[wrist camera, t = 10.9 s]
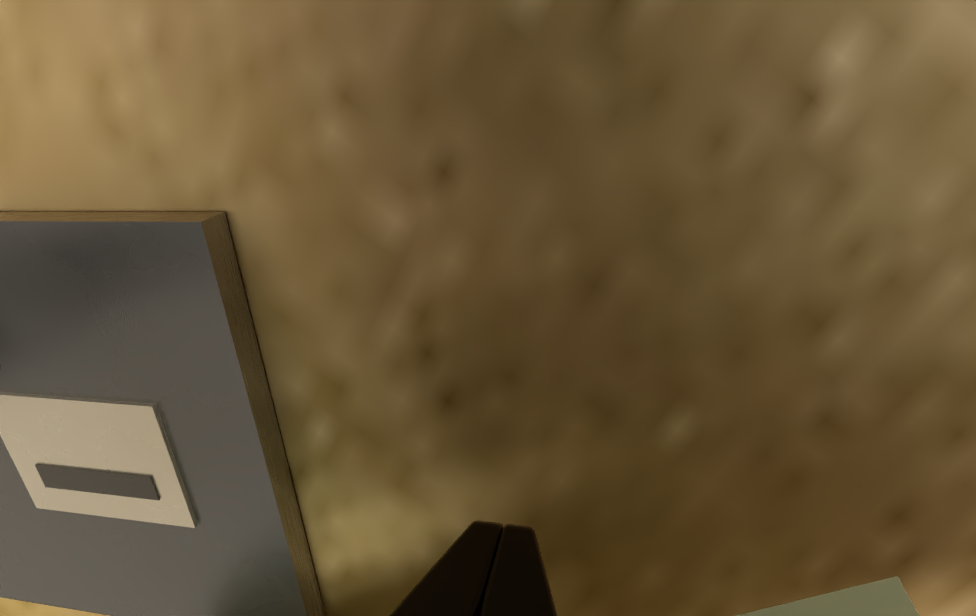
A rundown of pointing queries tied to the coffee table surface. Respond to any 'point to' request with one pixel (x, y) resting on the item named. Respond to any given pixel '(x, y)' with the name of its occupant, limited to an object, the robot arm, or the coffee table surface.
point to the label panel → (140, 424)
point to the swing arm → (850, 602)
